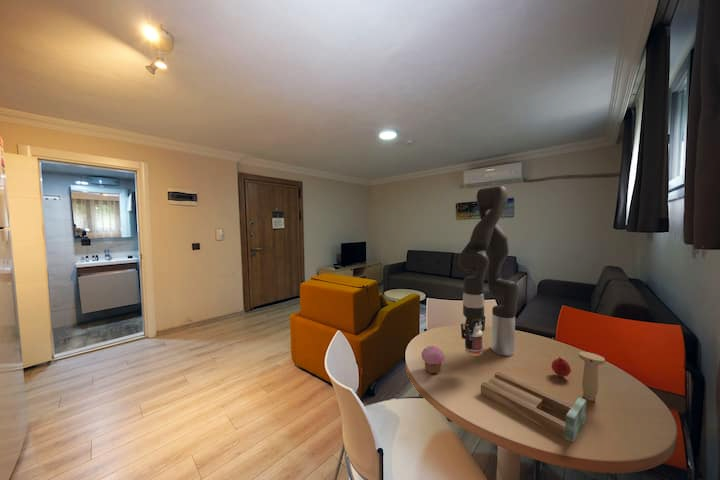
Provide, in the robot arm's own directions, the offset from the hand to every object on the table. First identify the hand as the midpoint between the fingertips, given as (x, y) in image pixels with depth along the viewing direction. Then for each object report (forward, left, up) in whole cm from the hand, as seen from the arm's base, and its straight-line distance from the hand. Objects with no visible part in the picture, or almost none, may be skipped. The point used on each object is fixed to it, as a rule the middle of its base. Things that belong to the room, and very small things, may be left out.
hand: (473, 345), depth 103 cm
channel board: (+2, +21, -12) cm, 24 cm away
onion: (-25, +22, -12) cm, 35 cm away
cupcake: (+10, -11, -12) cm, 20 cm away
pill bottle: (0, 0, -3) cm, 3 cm away
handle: (-18, +32, -12) cm, 38 cm away
